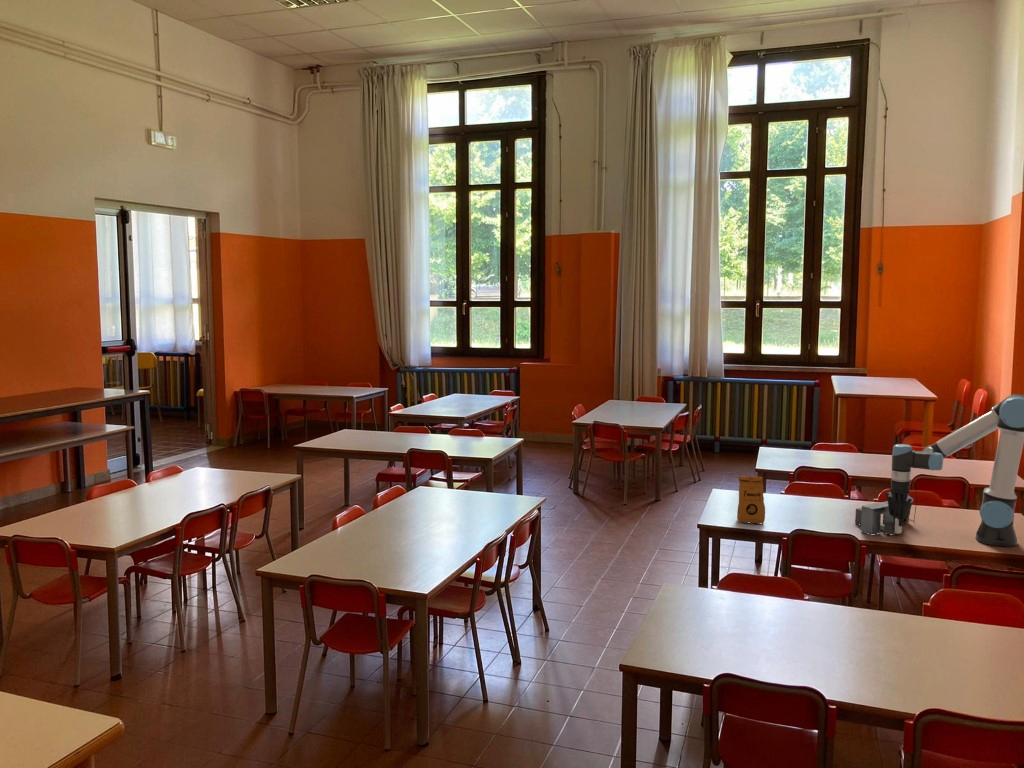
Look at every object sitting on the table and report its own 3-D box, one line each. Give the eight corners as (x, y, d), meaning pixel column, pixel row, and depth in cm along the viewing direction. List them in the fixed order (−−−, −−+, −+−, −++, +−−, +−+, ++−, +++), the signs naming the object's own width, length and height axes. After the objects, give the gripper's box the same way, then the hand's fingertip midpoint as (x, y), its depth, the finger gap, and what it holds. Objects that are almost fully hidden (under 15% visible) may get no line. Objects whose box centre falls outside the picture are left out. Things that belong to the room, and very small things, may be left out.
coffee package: (764, 526, 366) (766, 479, 364) (736, 524, 370) (737, 477, 367) (764, 520, 376) (766, 474, 373) (737, 518, 379) (738, 473, 377)
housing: (901, 529, 359) (903, 503, 358) (872, 535, 351) (873, 509, 350) (890, 526, 365) (891, 500, 363) (860, 531, 356) (861, 505, 355)
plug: (900, 534, 353) (901, 518, 352) (888, 535, 351) (889, 520, 350) (867, 521, 372) (867, 507, 371) (855, 523, 369) (855, 508, 369)
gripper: (881, 477, 351) (879, 530, 354) (907, 484, 340) (905, 538, 342) (893, 476, 355) (891, 527, 357) (919, 482, 343) (917, 535, 346)
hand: (897, 532), depth 350 cm, fingers closed
